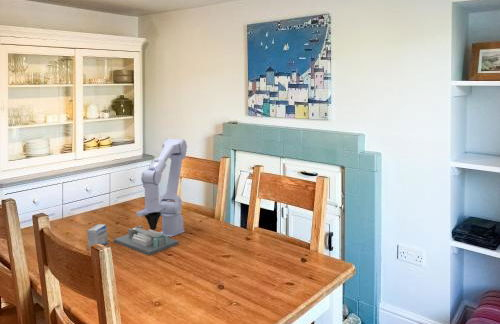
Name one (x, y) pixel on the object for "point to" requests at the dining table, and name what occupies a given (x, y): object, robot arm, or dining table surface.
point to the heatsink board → (142, 248)
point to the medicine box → (97, 235)
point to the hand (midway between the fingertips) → (153, 229)
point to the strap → (147, 233)
